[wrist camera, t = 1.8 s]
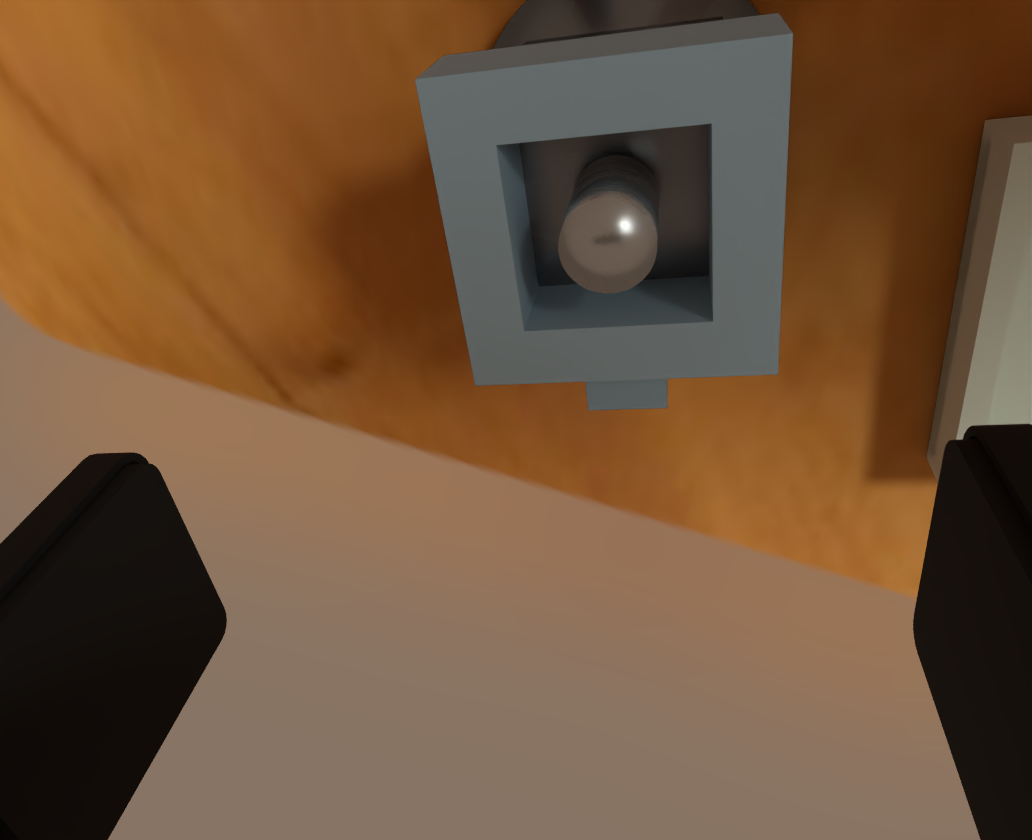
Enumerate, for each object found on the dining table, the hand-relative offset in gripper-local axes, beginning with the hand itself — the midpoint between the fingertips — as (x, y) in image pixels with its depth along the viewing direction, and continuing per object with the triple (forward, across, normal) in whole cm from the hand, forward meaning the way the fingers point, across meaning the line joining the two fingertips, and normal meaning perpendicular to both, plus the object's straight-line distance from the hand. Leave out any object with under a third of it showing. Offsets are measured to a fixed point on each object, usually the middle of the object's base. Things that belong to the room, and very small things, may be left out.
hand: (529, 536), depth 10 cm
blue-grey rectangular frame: (+11, -1, 0) cm, 11 cm away
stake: (+18, -1, 0) cm, 18 cm away
